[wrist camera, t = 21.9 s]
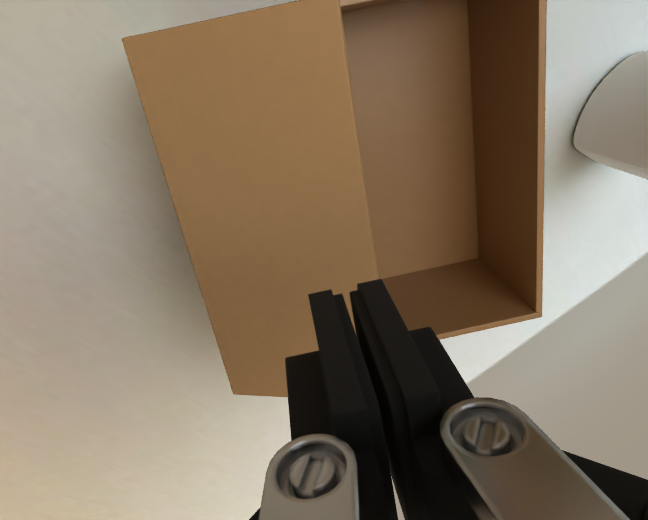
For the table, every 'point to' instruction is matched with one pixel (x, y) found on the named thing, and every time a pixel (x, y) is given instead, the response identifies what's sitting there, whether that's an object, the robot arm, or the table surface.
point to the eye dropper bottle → (618, 118)
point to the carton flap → (261, 173)
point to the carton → (453, 155)
